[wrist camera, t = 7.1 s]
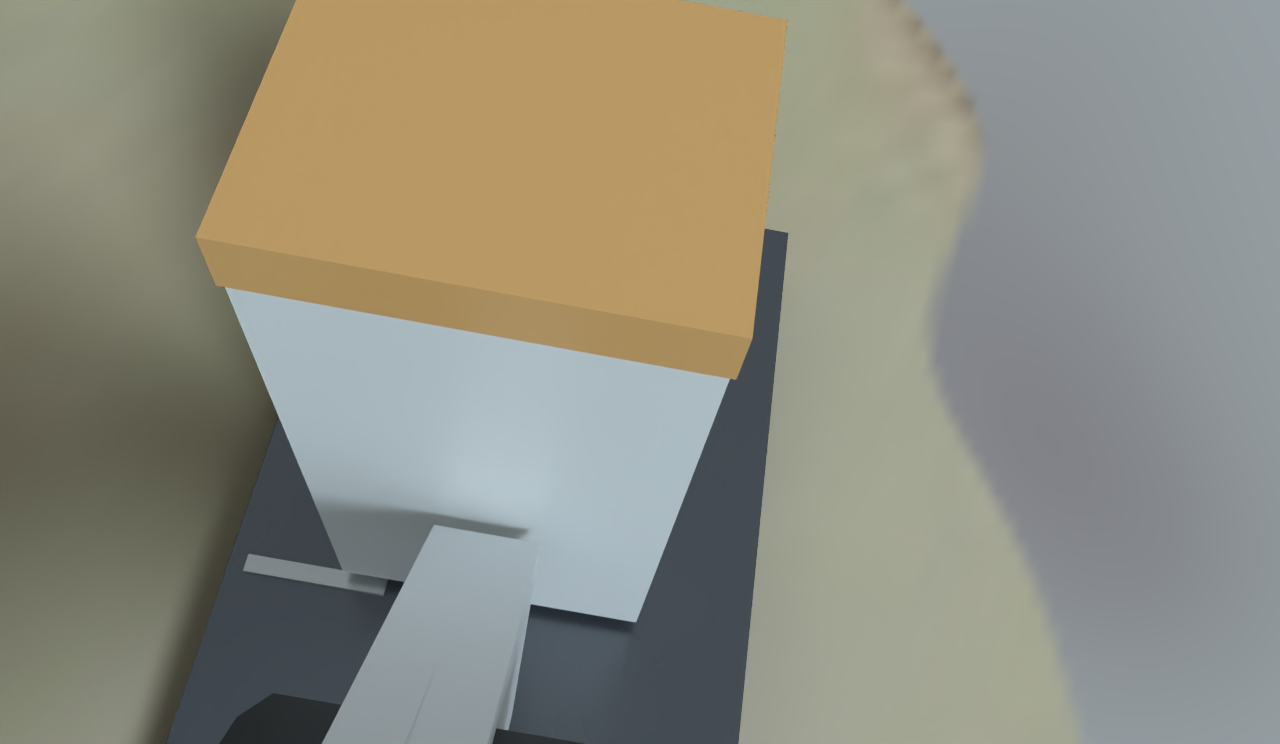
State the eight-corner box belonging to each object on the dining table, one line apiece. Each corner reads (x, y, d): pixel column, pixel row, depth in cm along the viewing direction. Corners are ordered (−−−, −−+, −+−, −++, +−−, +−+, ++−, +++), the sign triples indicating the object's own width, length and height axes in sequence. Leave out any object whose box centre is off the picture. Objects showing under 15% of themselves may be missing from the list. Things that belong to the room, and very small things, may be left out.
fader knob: (638, 626, 18) (753, 339, 10) (339, 572, 18) (195, 237, 10) (669, 412, 20) (787, 20, 12) (400, 363, 20) (325, -67, 12)
